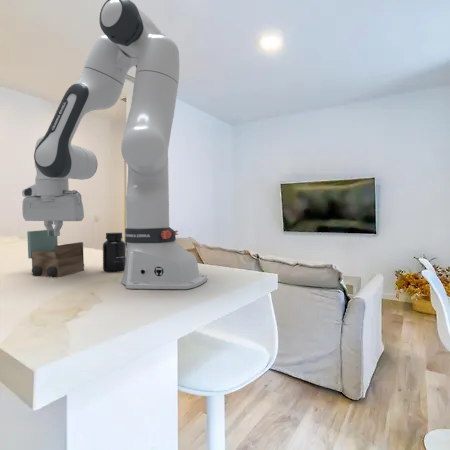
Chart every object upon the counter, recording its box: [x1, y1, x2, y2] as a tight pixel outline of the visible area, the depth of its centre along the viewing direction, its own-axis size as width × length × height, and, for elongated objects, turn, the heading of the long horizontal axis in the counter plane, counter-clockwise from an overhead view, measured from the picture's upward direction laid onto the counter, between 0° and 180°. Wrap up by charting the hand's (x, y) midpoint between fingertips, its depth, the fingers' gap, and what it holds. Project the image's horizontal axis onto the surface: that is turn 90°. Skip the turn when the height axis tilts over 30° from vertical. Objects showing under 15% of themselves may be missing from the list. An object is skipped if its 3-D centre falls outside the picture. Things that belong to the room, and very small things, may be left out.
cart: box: [31, 241, 85, 278], centre depth 95 cm, size 10×12×9 cm
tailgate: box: [26, 229, 59, 260], centre depth 96 cm, size 2×10×8 cm, turn 164°
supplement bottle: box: [102, 232, 127, 273], centre depth 97 cm, size 7×7×12 cm
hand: (53, 236), depth 95 cm, fingers closed
